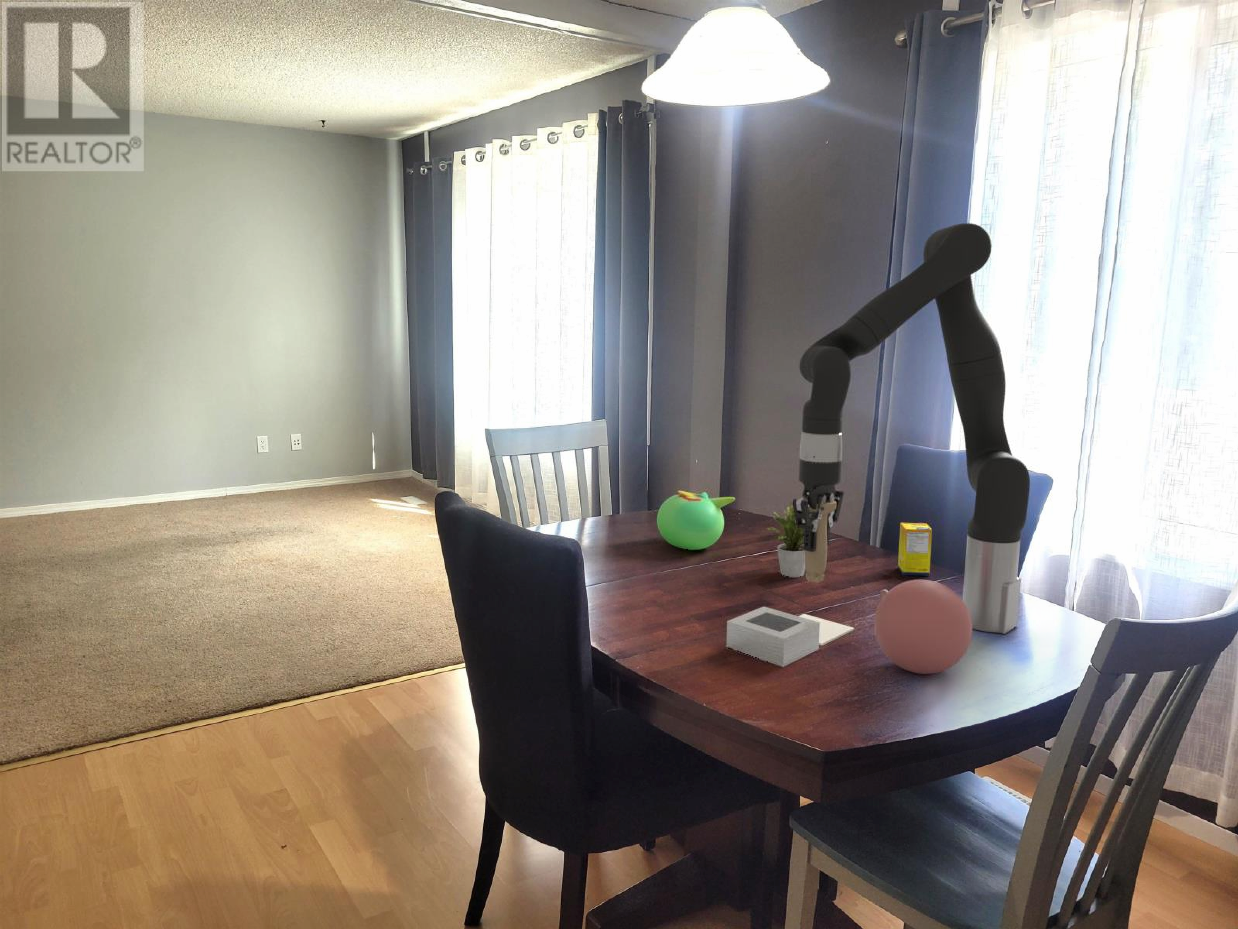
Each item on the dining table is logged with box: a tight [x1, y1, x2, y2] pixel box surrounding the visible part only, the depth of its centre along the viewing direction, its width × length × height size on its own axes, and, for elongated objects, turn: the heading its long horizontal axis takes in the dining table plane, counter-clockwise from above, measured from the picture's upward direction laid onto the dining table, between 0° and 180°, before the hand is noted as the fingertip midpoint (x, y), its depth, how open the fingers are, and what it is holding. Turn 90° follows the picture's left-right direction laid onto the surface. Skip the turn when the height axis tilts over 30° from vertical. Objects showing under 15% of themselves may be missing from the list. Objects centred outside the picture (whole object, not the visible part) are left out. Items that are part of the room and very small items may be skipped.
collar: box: [726, 606, 820, 668], centre depth 158 cm, size 12×11×5 cm
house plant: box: [766, 502, 806, 578], centre depth 200 cm, size 14×14×16 cm
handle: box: [805, 501, 836, 583], centre depth 165 cm, size 5×6×15 cm
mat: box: [798, 613, 855, 646], centre depth 168 cm, size 11×11×1 cm
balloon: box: [873, 579, 973, 675], centre depth 151 cm, size 15×20×15 cm
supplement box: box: [897, 522, 933, 577], centre depth 203 cm, size 6×6×11 cm
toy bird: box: [656, 490, 736, 551], centre depth 223 cm, size 18×17×15 cm
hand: (816, 548), depth 165 cm, fingers closed on handle, 4 cm apart
